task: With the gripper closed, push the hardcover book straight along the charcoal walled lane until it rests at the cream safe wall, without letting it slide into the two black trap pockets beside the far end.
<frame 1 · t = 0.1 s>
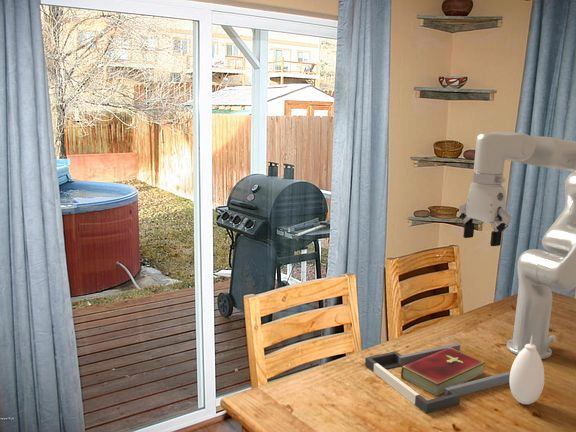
hand: (481, 241, 146), 37 cm above the table, tool pointing down, fingers open, 9 cm apart
hardcover book: (442, 377, 147), on the table
sauce bottle: (523, 403, 134), on the table
trap box: (441, 375, 146), on the table
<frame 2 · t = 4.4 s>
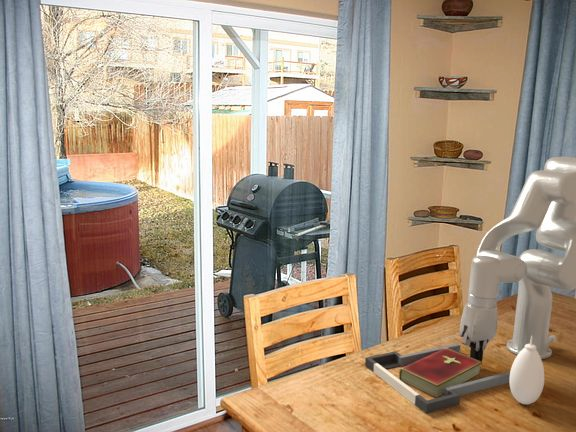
hand: (475, 361, 151), 2 cm above the table, tool pointing down, fingers closed
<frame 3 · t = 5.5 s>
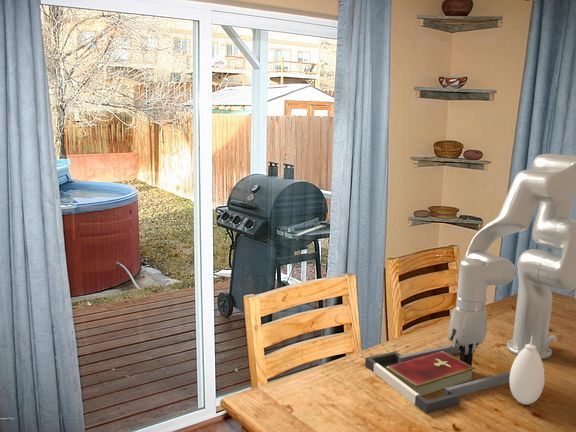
hand: (465, 365, 150), 1 cm above the table, tool pointing down, fingers closed
hardcover book: (429, 380, 145), on the table, touching gripper
everything else where it was.
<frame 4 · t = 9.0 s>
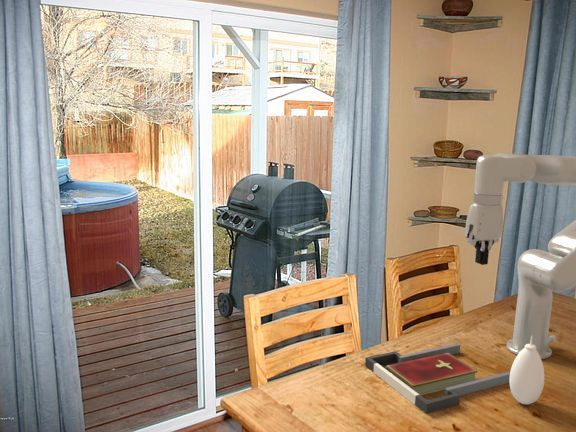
hand: (481, 263, 152), 29 cm above the table, tool pointing down, fingers closed
hardcover book: (430, 382, 144), on the table
everything else where it was.
at the end: hardcover book 0.5 cm from the target spot on the trap box, point -0.7 cm above the trap box's base; hardcover book tilted 0° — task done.
